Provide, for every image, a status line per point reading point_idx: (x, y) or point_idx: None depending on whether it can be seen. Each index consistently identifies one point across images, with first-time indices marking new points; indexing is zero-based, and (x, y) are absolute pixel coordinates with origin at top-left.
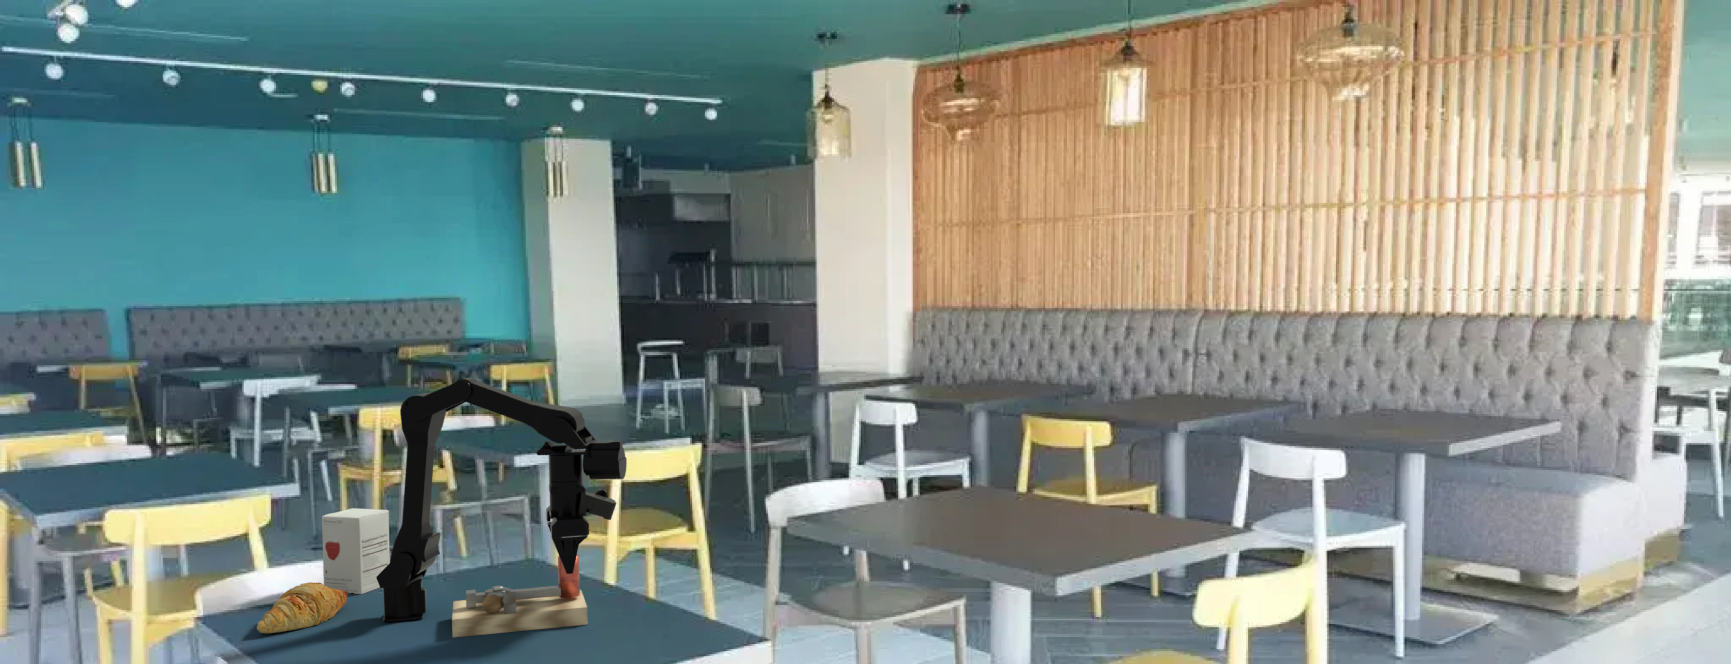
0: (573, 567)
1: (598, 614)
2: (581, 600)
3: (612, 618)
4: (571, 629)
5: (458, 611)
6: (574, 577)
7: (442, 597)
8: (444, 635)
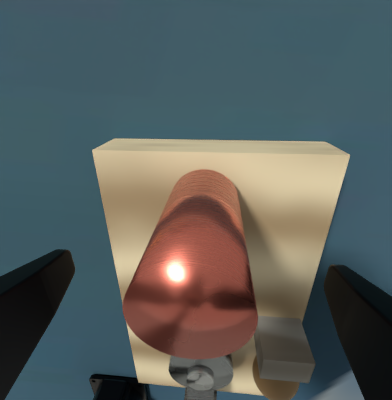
0: (374, 287)
1: (225, 98)
2: (243, 163)
3: (298, 55)
4: (350, 186)
5: None
6: (241, 222)
7: None
8: None
